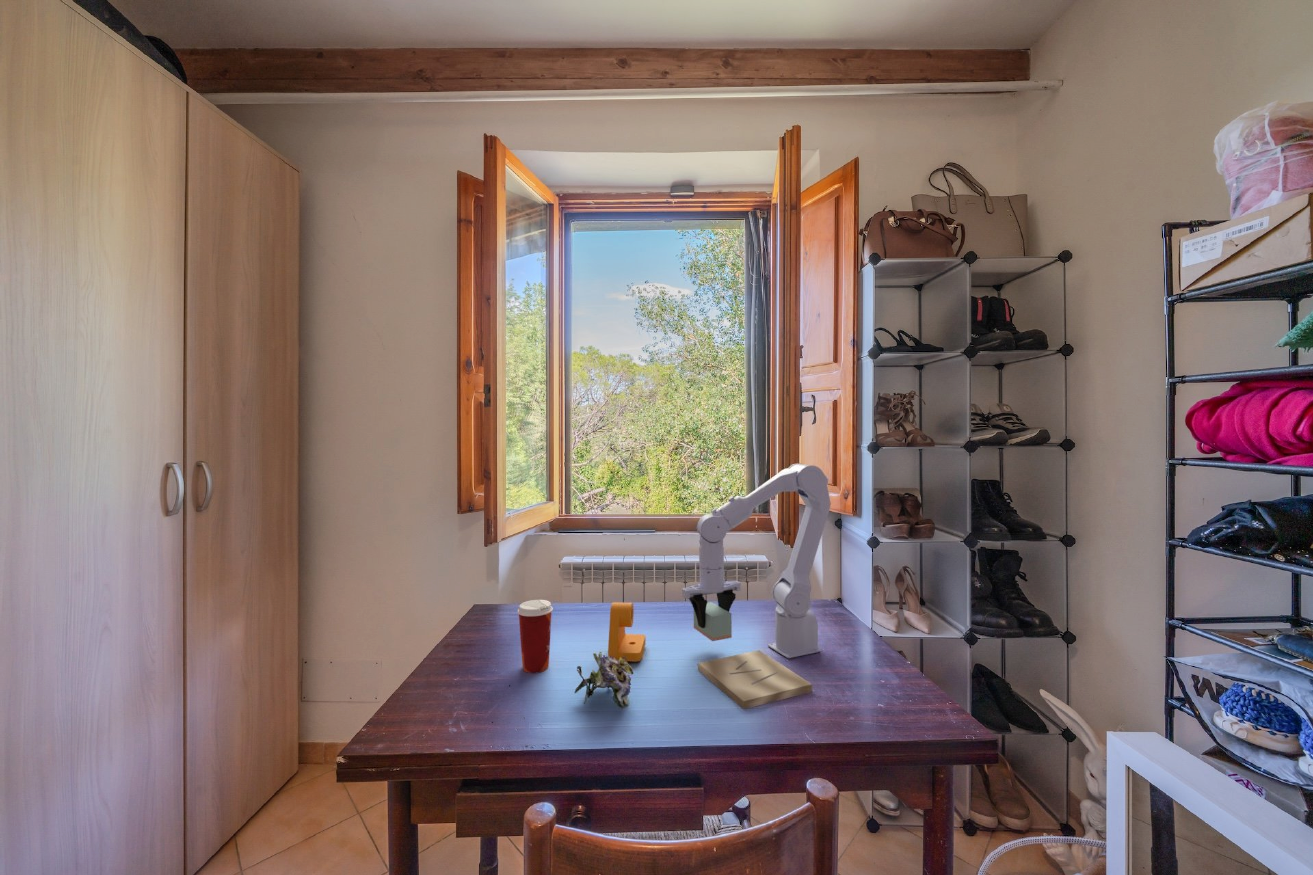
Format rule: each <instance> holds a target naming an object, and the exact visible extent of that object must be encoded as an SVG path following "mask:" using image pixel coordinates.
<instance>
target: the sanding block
mask: <svg viewBox="0 0 1313 875" xmlns="http://www.w3.org/2000/svg"><path fill="white" fill-rule="evenodd" d="M732 626H733V625H732V613H731V612H730V611H729V612H728V611H726V610H724V609H723V608H721V607H719V606H718V605H717V604H716V603H714V602H713V601H711V602H707V606H706V613H705V628H701V627H700V626H698V621H697V617H696V614H695V611H694V610H693V629H695V630H696V631H697V632H699V633H700V634H702V635H703V636H704V637H706V638H707V639H709V640H710V641H711V642H716V641H721V640H727V639H731V638H733V637H732V635H733V634H732V632H733V630H732Z"/></svg>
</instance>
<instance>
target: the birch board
mask: <svg viewBox="0 0 1313 875" xmlns="http://www.w3.org/2000/svg"><path fill="white" fill-rule="evenodd" d="M697 671H699V672H700V673H701V674H702V675H703V676H705V677H706V678H707V679H708V680H709V681H710V682H711V683H712V684H714V685H715V686H716V687H717V689H720V691H722V692H723V693H724V694H725V695H726V696H728V697H729V698H730V699H731V700H732V701H733V702H735V703H736V704H737V705H738V706H739V707H740V708H741V709H742V710H745V709H751V708H754V707H757V706H761V705H765V704H770V703H773V702H778V701H781V700H785V699H789V698H793V697H796V696H801V695H805V694H809V693H812V692H813V684H812V683H811V682H810V681H808V680H807V679H804V678H803V677H801V675H798V674H797V673H795V672H794V671H792V670H791V669H789V668H788V667H786V666H784V664H782V663H780V662H778V661H777V660H775V659H774V658H773V657H771V656H769V655H768V654H766V653H765V652H763V651H761V650H760V649H758V650H755V651H749V652H748V651H747V652H744V653H739V654H734V655H729V656H725V657H719V658H715V659H711V660H706V661H701V662H698V663H697Z"/></svg>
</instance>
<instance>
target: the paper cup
mask: <svg viewBox="0 0 1313 875" xmlns="http://www.w3.org/2000/svg"><path fill="white" fill-rule="evenodd" d="M553 610H554V608H553V606H552V603H551V601H549V600H547V599H532V600H527V601H524V602H522V603H520V605H518V609H517V614H518V621H519V622H518V623H519V635H520V651H521V653H520V654H521V664H522V669H523V672H525V673H528V674H538V673H541V672H542V673H543V672H544V671H546V670H548V669H549V664H550V649H551V631H552V630H551V626H552V611H553Z"/></svg>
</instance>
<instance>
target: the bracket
mask: <svg viewBox="0 0 1313 875" xmlns="http://www.w3.org/2000/svg"><path fill="white" fill-rule="evenodd" d="M634 614H635V612H634V603H633V602H618V601H617V602H612V603H611V605H610V613H609V626H608V627H609V628H608V648H607V657H608V656H610V655H611V658H615V659H616V660H617V661H619V659H620V658H622V659H623V656H625V658H626V661H627V662H640V661H642V660H643V656H644V654H645V651H646V648H645V647H646V645H647V644H646V635H645V634H638V633H637V634H635V633H634V634H633V633H631V634H630V633H626V628H632V627H633V623H634V617H635V616H634ZM608 658H609V657H608Z"/></svg>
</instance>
